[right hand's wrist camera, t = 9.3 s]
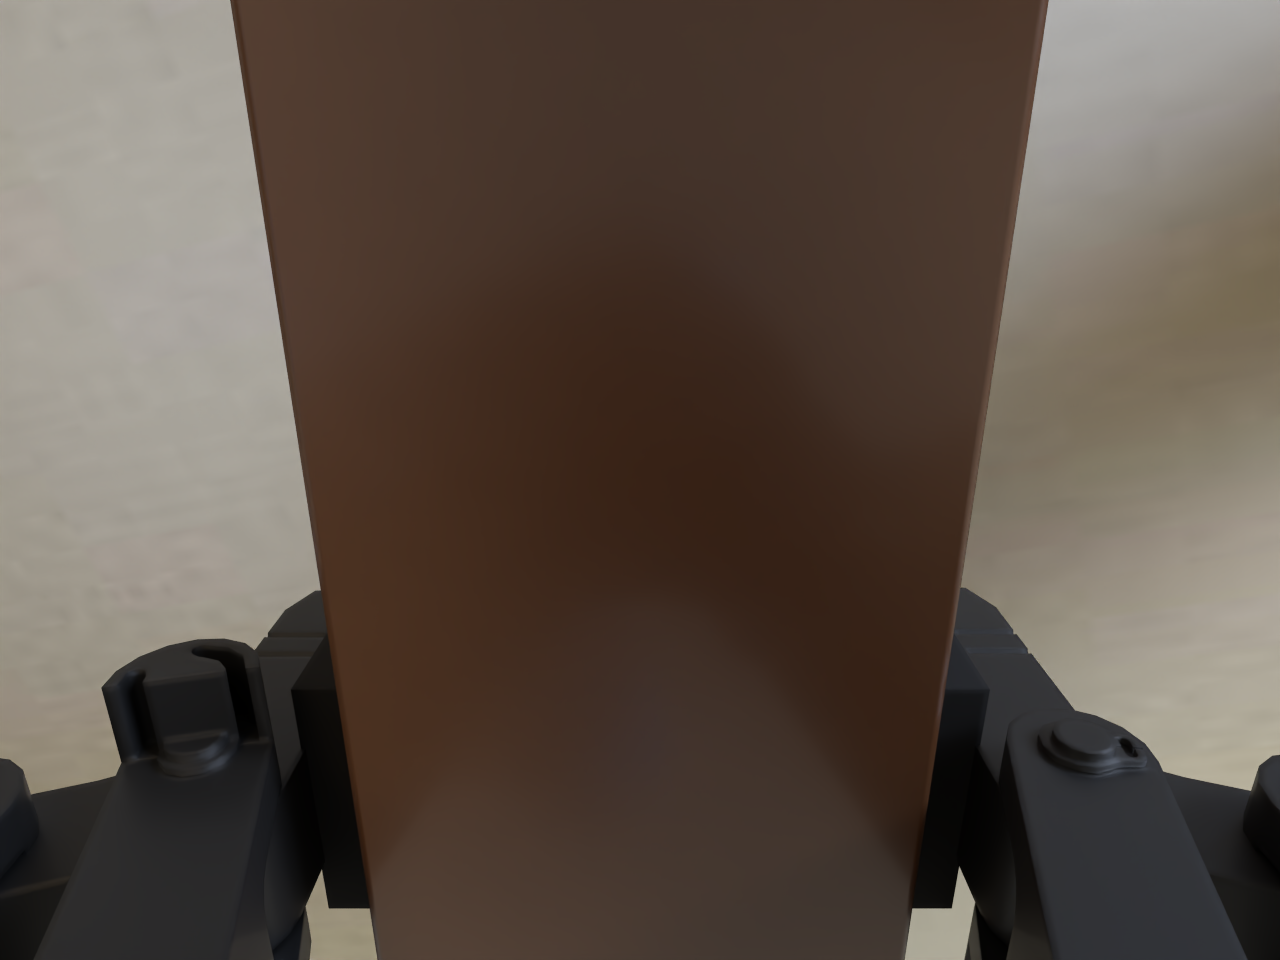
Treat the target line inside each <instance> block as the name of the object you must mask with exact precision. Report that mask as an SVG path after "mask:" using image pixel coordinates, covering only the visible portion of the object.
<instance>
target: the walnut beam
mask: <svg viewBox="0 0 1280 960" xmlns="http://www.w3.org/2000/svg"><path fill="white" fill-rule="evenodd" d="M230 1H231V8H232V14H233V21H234V27H235V34H236V40H237V47H238V53H239V60H240V66H241V73H242V79H243V86H244V92H245V99H246V105H247V112H248V118H249V125H250V131H251V138H252V144H253V151H254V157H255V164H256V170H257V177H258V183H259V190H260V197H261V203H262V210H263V216H264V223H265V229H266V236H267V242H268V249H269V255H270V262H271V268H272V275H273V281H274V288H275V294H276V301H277V307H278V314H279V320H280V327H281V333H282V340H283V346H284V353H285V359H286V366H287V372H288V379H289V385H290V392H291V398H292V405H293V411H294V418H295V424H296V431H297V437H298V444H299V451H300V457H301V464H302V470H303V477H304V483H305V490H306V496H307V503H308V509H309V516H310V522H311V529H312V535H313V542H314V548H315V555H316V561H317V568H318V574H319V581H320V587H321V594H322V600H323V607H324V613H325V620H326V626H327V633H328V639H329V646H330V652H331V659H332V665H333V672H334V678H335V685H336V691H337V698H338V705H339V711H340V718H341V724H342V731H343V737H344V744H345V750H346V757H347V763H348V770H349V776H350V783H351V789H352V796H353V802H354V809H355V815H356V822H357V828H358V835H359V841H360V848H361V854H362V861H363V867H364V874H365V880H366V887H367V893H368V900H369V906H370V913H371V919H372V926H373V932H374V939H375V945H376V952H377V959H378V960H905V953H906V946H907V940H908V933H909V926H910V920H911V913H912V906H913V900H914V893H915V886H916V880H917V873H918V866H919V860H920V853H921V846H922V840H923V833H924V826H925V820H926V813H927V807H928V800H929V793H930V787H931V780H932V773H933V767H934V760H935V753H936V747H937V740H938V733H939V727H940V720H941V713H942V707H943V700H944V693H945V687H946V680H947V673H948V667H949V660H950V653H951V647H952V640H953V633H954V627H955V620H956V613H957V607H958V600H959V593H960V587H961V580H962V573H963V567H964V560H965V553H966V547H967V540H968V533H969V527H970V520H971V513H972V507H973V500H974V494H975V487H976V480H977V474H978V467H979V460H980V454H981V447H982V440H983V434H984V427H985V420H986V414H987V407H988V400H989V394H990V387H991V380H992V374H993V367H994V360H995V354H996V347H997V340H998V334H999V327H1000V320H1001V314H1002V307H1003V300H1004V294H1005V287H1006V280H1007V274H1008V267H1009V260H1010V254H1011V247H1012V240H1013V234H1014V227H1015V220H1016V214H1017V207H1018V200H1019V194H1020V187H1021V181H1022V174H1023V167H1024V161H1025V154H1026V147H1027V141H1028V134H1029V127H1030V121H1031V114H1032V107H1033V101H1034V94H1035V87H1036V81H1037V74H1038V67H1039V61H1040V54H1041V47H1042V41H1043V34H1044V27H1045V21H1046V14H1047V7H1048V1H1049V0H230Z"/></svg>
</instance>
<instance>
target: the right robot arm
mask: <svg viewBox="0 0 1280 960" xmlns="http://www.w3.org/2000/svg"><path fill="white" fill-rule="evenodd" d="M1027 650H1028V649H1027V647H1026V646H1025V645H1024V643H1023V642H1022V641H1021V639H1020V638H1019V637H1018V636H1017V634H1013V629H1012V628H1011V626H1010V625H1009V624H1008V623H1007V621H1006V620H1005V619H1004V617H1003V616H1002V615H1001V613H1000V612H999V611H998V609H997V608H996V607H995V606H993V605H991V604H990V603H988V602H987V601H985V600H984V599H982V598H980V597H979V596H977V595H976V594H974V593H973V592H971V591H970V590H968V589H966V588H960V593H959V600H958V607H957V613H956V620H955V627H954V633H953V640H952V647H951V653H950V660H949V667H948V673H947V680H946V687H945V693H944V700H943V707H942V713H941V720H940V727H939V733H938V740H937V747H936V753H935V760H934V767H933V773H932V780H931V787H930V793H929V800H928V807H927V813H926V820H925V826H924V833H923V840H922V846H921V853H920V860H919V866H918V873H917V880H916V886H915V893H914V900H913V906H912V908H952V904H953V898H954V892H955V887H956V881H957V875H958V869H959V866H960V869H961V871H962V873H963V875H964V878H965V880H966V882H967V884H968V887H969V889H970V891H971V893H972V896H973V898H974V900H975V907H974V912H973V917H972V923H971V928H970V933H969V938H968V944H967V949H966V954H965V960H1280V755H1275V756H1272V757H1270V758H1269V759H1268V760H1266V761H1265V762H1264V763H1262V764H1261V765H1260V766H1259V768H1258V771H1257V774H1256V777H1255V781H1254V784H1253V787H1252V790H1251V791H1248V790H1243V789H1238V788H1234V787H1229V786H1224V785H1219V784H1214V783H1209V782H1204V781H1200V780H1195V779H1190V778H1185V777H1181V776H1177V775H1174V774H1170V773H1166V772H1163V770H1162V768H1161V766H1160V764H1159V762H1158V760H1157V759H1156V758H1155V756H1154V755H1153V754H1152V752H1151V751H1150V750H1149V748H1148V747H1147V746H1146V744H1145V743H1143V742H1142V741H1141V740H1139V739H1138V738H1136V737H1135V736H1134V735H1132V734H1131V733H1130V732H1128V731H1127V730H1125V729H1124V728H1122V727H1120V726H1118V725H1116V724H1113V723H1111V722H1109V721H1107V720H1105V719H1102V718H1100V717H1098V716H1095V715H1091V714H1087V713H1083V712H1079V711H1075V710H1074V709H1073V707H1072V706H1071V705H1070V703H1069V702H1068V701H1067V699H1066V698H1065V697H1064V696H1063V694H1062V693H1061V692H1060V690H1059V689H1058V688H1057V686H1056V685H1055V684H1054V683H1053V681H1052V680H1051V679H1050V677H1049V676H1048V675H1047V673H1046V672H1045V671H1044V669H1043V668H1042V667H1041V666H1040V664H1039V663H1038V662H1037V660H1036V659H1035V658H1034V656H1033V655H1032V654H1028V651H1027ZM102 692H103V695H104V699H105V703H106V707H107V710H108V714H109V718H110V721H111V725H112V729H113V733H114V736H115V740H116V744H117V747H118V751H119V755H120V759H121V762H122V763H121V765H120V768H119V770H118V772H117V774H116V776H114V777H110V778H106V779H102V780H99V781H94V782H89V783H85V784H80V785H75V786H70V787H65V788H60V789H56V790H51V791H46V792H41V793H36V794H30V791H29V788H28V784H27V781H26V778H25V775H24V772H23V770H22V769H21V768H20V767H19V766H17V765H16V764H15V763H13V762H12V761H11V760H8V759H1V758H0V960H309V958H310V949H311V936H310V929H309V923H308V917H307V912H306V907H305V906H306V904H307V902H308V899H309V897H310V895H311V892H312V890H313V888H314V886H315V883H316V881H317V879H318V876H319V874H320V872H321V870H322V872H323V878H324V883H325V889H326V895H327V900H328V906H329V908H370V906H369V900H368V893H367V887H366V880H365V874H364V867H363V861H362V854H361V848H360V841H359V835H358V828H357V822H356V815H355V809H354V802H353V796H352V789H351V783H350V776H349V770H348V763H347V757H346V750H345V744H344V737H343V731H342V724H341V718H340V711H339V705H338V698H337V691H336V685H335V678H334V672H333V665H332V659H331V652H330V646H329V639H328V633H327V626H326V620H325V613H324V607H323V600H322V594H321V591H314V592H313V593H311V594H310V595H308V596H307V597H305V598H303V599H302V600H300V601H299V602H297V603H296V604H294V605H293V606H291V607H289V608H288V609H286V610H285V611H284V613H283V614H282V615H281V616H280V618H279V619H278V620H277V622H276V623H275V624H274V626H273V627H272V628H271V630H270V631H269V632H268V637H264V639H263V640H262V641H261V643H260V644H259V645H258V647H257V648H256V649H255V650H253V649H252V648H251V647H250V646H248V645H247V644H246V643H242V642H237V641H233V640H228V639H197V640H193V641H188V642H183V643H178V644H174V645H169V646H166V647H163V648H161V649H158V650H156V651H153V652H150V653H148V654H145V655H143V656H140V657H138V658H137V659H135V660H133V661H132V662H130V663H129V664H127V665H125V666H124V667H122V668H121V669H119V670H117V671H116V672H115V673H114V674H113V675H112V676H111V678H110V679H109V680H108V681H107V682H106V683H105V684H104V685H103V687H102Z"/></svg>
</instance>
